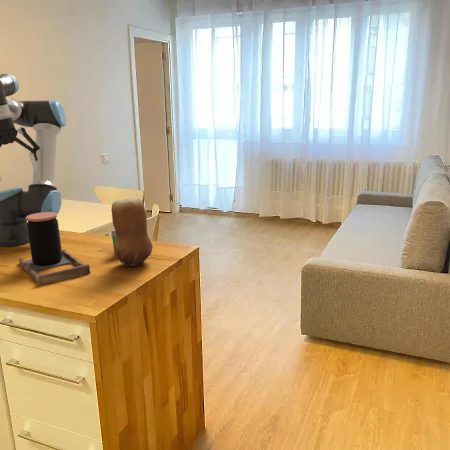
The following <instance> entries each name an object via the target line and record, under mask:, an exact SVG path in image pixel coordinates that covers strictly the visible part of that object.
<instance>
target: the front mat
mask: <svg viewBox="0 0 450 450" xmlns="http://www.w3.org/2000/svg"><path fill="white" fill-rule="evenodd" d="M24 261H25V262H26V263H27V264H28V265H29V266H30V267H31V268H32V269H33V270H34V271H35V272H39V271H45V270H48V269H52V268H56V267H61V266H65V265H70V264H71V265H72V264H74V263H73V261H71V260H70V259H69V258H67V257H66V256H65V255H64V254H62V259H61V261H60V262H58V263H56V264H53V265H48V266H38V265H35V264H34V263H33V262H32V259H29V260H24Z"/></svg>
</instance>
